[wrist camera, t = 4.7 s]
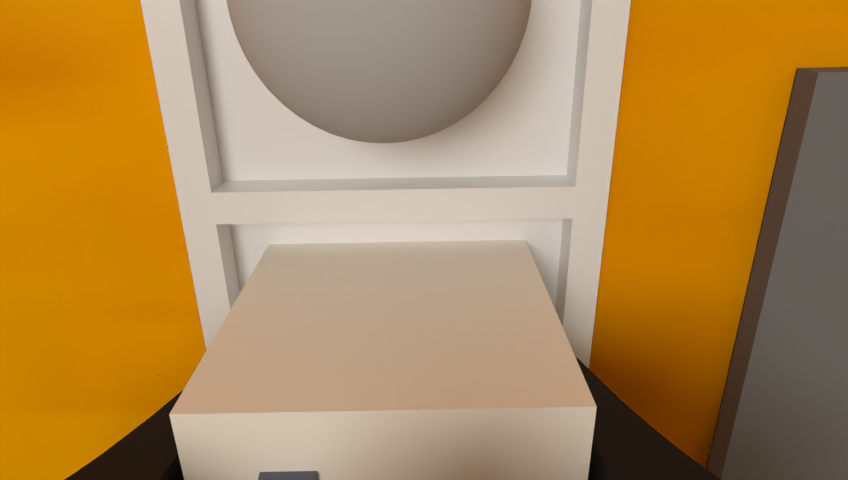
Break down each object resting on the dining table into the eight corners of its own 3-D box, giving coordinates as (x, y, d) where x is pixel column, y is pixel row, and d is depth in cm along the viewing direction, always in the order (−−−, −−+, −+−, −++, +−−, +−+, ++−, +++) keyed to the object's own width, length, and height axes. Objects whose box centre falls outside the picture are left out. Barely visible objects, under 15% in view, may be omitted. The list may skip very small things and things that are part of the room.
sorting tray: (544, 658, 17) (551, 697, 16) (280, 663, 17) (272, 702, 16) (641, -298, 9) (668, -332, 8) (116, -290, 8) (79, -324, 8)
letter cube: (513, 441, 13) (565, 682, 9) (294, 445, 13) (228, 689, 9) (525, 239, 11) (598, 412, 7) (269, 244, 11) (165, 419, 7)
